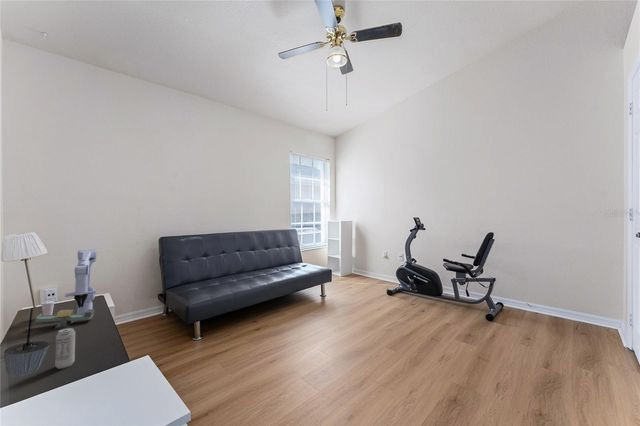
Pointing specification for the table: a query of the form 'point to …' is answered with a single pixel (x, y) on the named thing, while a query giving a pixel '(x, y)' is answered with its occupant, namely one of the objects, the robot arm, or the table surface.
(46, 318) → the beam
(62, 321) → the pivot stand
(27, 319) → the table surface
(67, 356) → the energy drink can
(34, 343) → the table surface
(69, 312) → the block
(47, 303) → the smoothie
